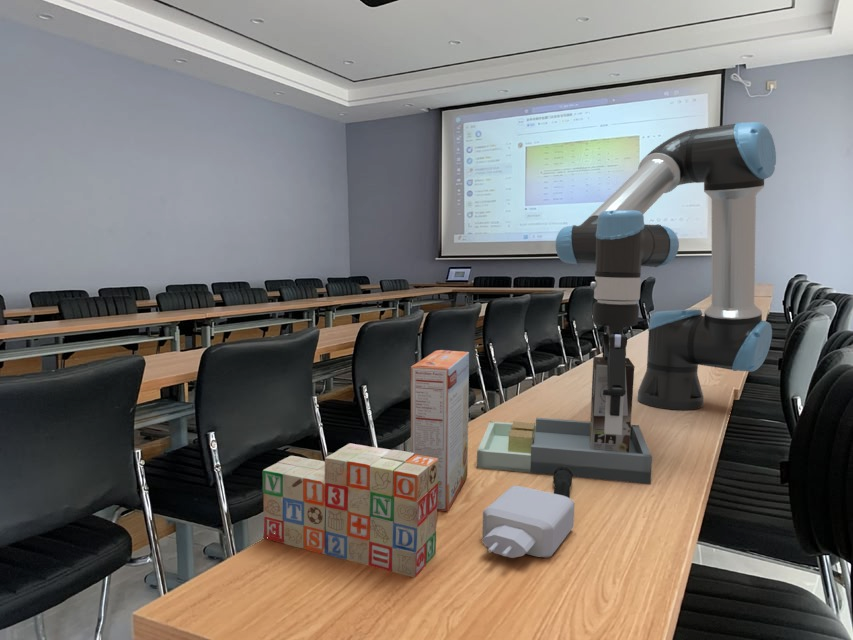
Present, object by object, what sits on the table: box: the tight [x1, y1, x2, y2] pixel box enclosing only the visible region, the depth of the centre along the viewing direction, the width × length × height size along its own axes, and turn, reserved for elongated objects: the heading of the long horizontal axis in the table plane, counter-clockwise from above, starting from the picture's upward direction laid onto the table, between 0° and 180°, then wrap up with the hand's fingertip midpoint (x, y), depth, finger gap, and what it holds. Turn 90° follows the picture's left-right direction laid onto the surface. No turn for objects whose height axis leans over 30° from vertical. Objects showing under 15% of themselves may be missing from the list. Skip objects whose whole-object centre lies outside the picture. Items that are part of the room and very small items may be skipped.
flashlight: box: [552, 466, 574, 499], centre depth 90 cm, size 3×16×3 cm, turn 166°
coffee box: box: [589, 356, 635, 453], centre depth 107 cm, size 9×6×16 cm
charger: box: [481, 485, 575, 559], centre depth 77 cm, size 5×9×15 cm
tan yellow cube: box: [508, 429, 533, 453], centre depth 108 cm, size 4×4×4 cm
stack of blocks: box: [262, 442, 439, 578], centre depth 75 cm, size 21×6×12 cm, turn 67°
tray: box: [476, 421, 536, 474], centre depth 111 cm, size 9×18×3 cm, turn 167°
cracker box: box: [410, 349, 470, 512], centre depth 92 cm, size 14×6×21 cm, turn 164°
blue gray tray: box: [529, 417, 653, 485], centre depth 108 cm, size 19×18×4 cm
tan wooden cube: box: [511, 421, 536, 445], centre depth 113 cm, size 4×4×4 cm
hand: (609, 422), depth 107 cm, fingers open, 13 cm apart
